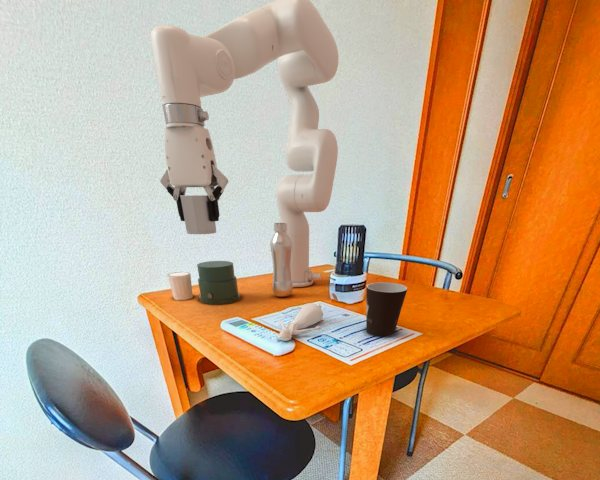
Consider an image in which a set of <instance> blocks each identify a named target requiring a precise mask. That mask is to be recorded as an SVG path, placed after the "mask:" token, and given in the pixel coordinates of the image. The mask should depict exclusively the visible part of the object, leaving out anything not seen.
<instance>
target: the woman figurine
mask: <svg viewBox="0 0 600 480" xmlns="http://www.w3.org/2000/svg"><path fill="white" fill-rule="evenodd" d="M323 317H324V312H323V309H322V305H321V304H319V305H318V304H316V303H313V302H312V303H311V302H310V303H308V302H307V303H305V304H303V305H302V306H301V308H300V309H299V311H298V313H297V314H296V316H295V317H294V319H292V322H291V321H288V323H287V324H286V326H285V325H284V324H283V322H282V319H281V318H278V319H277V322H278V324H279V325H280V327H281V328H282V329H281V330H280V331H279V334H278V338H279V340H281V341H283V342H288V341H290V340H292V337H293V336H297V335H299V334H301V333H306V332H311V331H319V330H322V329H323V326H320V324H319V325H316V326H315V327H311V326H314V325H315V324H317V323H319V322H321V321H322V320H323ZM308 327H311V328H308ZM280 337H281V338H280ZM284 338H286V339H284Z"/></svg>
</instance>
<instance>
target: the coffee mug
mask: <svg viewBox="0 0 600 480" xmlns="http://www.w3.org/2000/svg"><path fill="white" fill-rule="evenodd" d="M365 289H366V290H365V291H366V292H365V294H366V297H365V298H366V299H365V300H366V301H365V303H366V304H365V306H366V307H365V309H366V311H365V313H366V316H365V317H366V318H365V319H366V321H365V322H366V323H365V326H366V328H365V330H366V331H365V332H367V334H369V335H370V336H374V337H379V338H381V337H383V338H385V337H391V336H394V334H395V332H396V330H397V325H398V322H399V318H400V316H401V312H402V308H403V306H404V302H405V298H406V295H407V291H408V287H407V286H406V285H403V284H400V283H395V282H387V281H386V282H385V281H384V282H383V281H382V282H381V281H380V282H371V283H368V284H366V288H365Z"/></svg>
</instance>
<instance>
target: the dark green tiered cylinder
mask: <svg viewBox="0 0 600 480" xmlns="http://www.w3.org/2000/svg"><path fill="white" fill-rule="evenodd" d="M196 268H197V272H198V278H197V282H198V288H199V296H198V298H199V302H200V303H202V304H204V305H205V304H206V305H213V306H214V305H216V306H217V305H218V306H219V305H228V304H232V303H236V302H238V301H239V300H240V299H241V293H240V292H239V290H238V289H239V287H238V278H237V276H236V275H235V268H234V263H233V261H230V260H229V261H228V260H210V261H203V262H199V263H197V264H196Z"/></svg>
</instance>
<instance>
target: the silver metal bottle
mask: <svg viewBox="0 0 600 480" xmlns="http://www.w3.org/2000/svg"><path fill="white" fill-rule="evenodd" d="M273 231H274V234H273V235H272V237H271V240H270V243H269V248H270V254H271V261H272V282H271V290H272V294H273V295H274V296H275V297H280V298H281V297H283V298H284V297H289V296H291V295H292V293H293V290H294V289H293V288H294V287H293V285H292V280H291V270H290V263H291V250H292V242H291V240H290V238H289V236H288V235H287V233H286V231H287V224H286V223H280V222H274V223H273Z"/></svg>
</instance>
